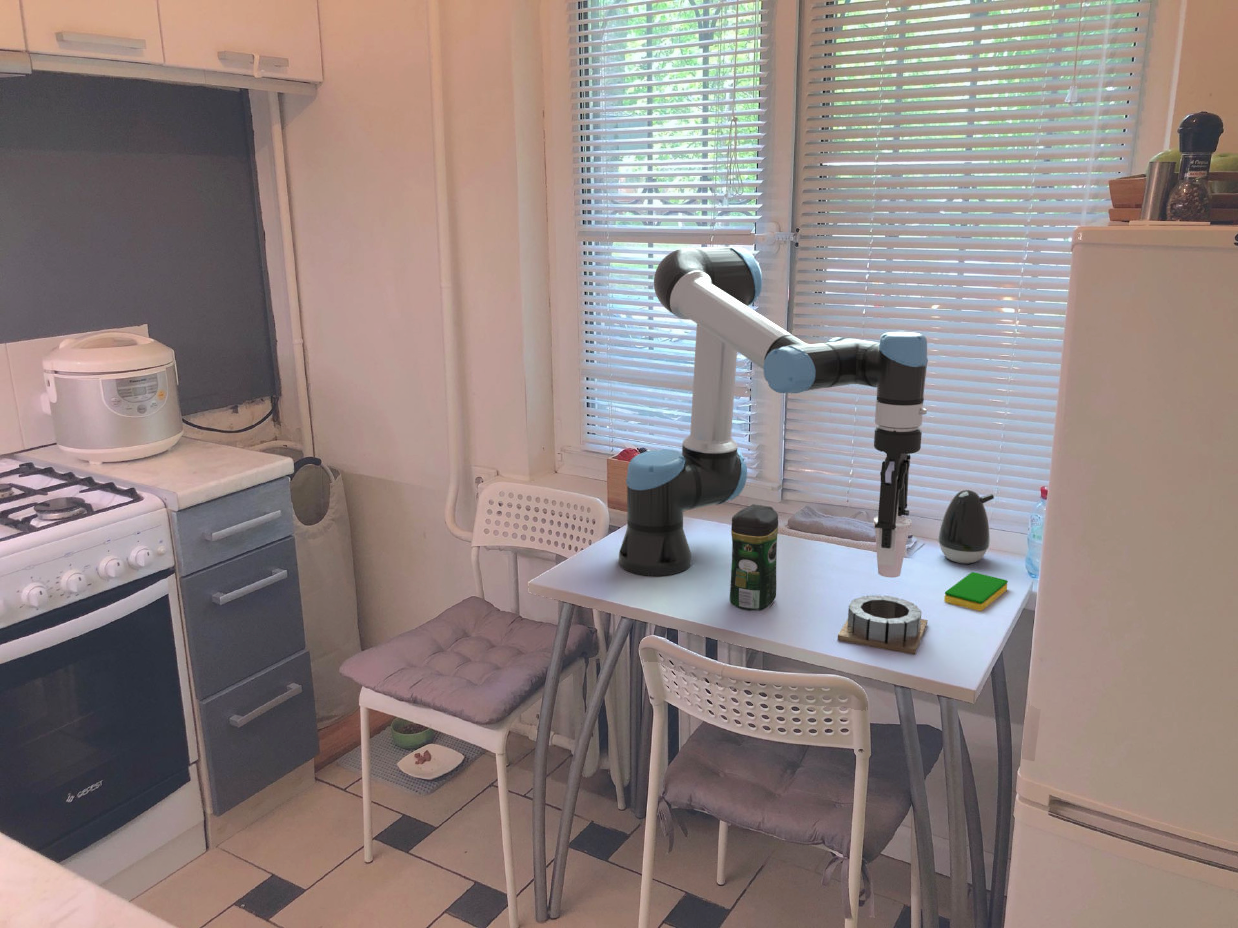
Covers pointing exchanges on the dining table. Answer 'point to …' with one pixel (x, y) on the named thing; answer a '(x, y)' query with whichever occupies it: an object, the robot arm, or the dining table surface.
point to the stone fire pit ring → (884, 624)
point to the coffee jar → (754, 557)
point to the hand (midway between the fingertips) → (889, 557)
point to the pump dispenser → (965, 528)
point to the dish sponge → (976, 591)
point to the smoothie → (901, 541)
